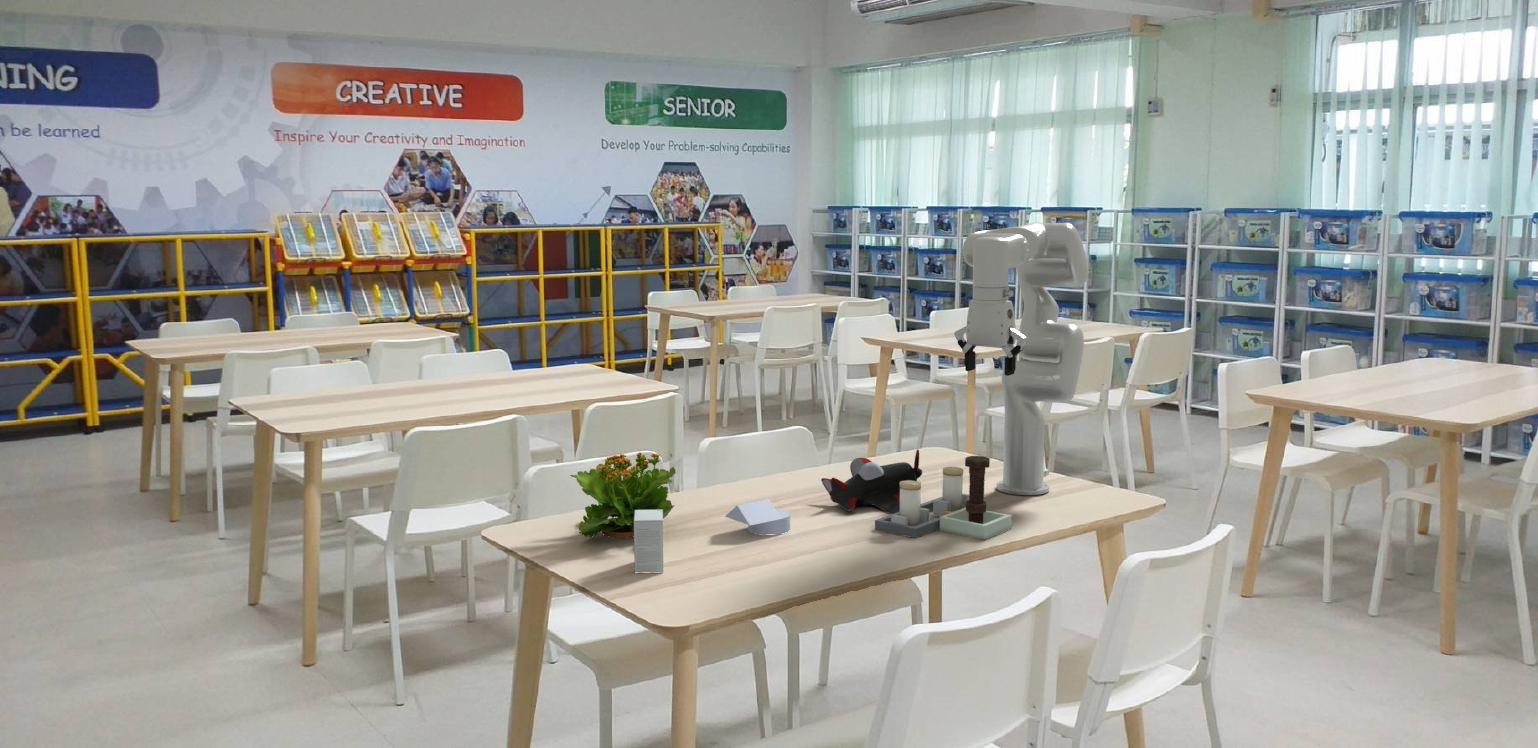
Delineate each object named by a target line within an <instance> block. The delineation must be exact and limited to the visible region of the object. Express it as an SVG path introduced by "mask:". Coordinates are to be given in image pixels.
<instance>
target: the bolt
mask: <svg viewBox="0 0 1538 748" xmlns="http://www.w3.org/2000/svg"><path fill="white" fill-rule="evenodd" d="M964 458H965V459H964V466H965V467H968V473H969V482H968V483H969V486H968V490H969V491H968V495H969V500H968V501H966V511H967V512H969V514H968V515H969V517H968V518H969V520H968V521H969V522H974V523H979V524H983V518H984V517H983V515H984V514H983V513H984V512H986V511H987V507H988V506H987V501H986V500H985V499H984V498H985V481H986V479H985V475H986V468H990V462H991V461H990V460H991V459H990V458H989V457H988V456H981V455H968V456H966V457H964Z"/></svg>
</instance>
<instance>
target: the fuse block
mask: <svg viewBox="0 0 1538 748" xmlns="http://www.w3.org/2000/svg"><path fill="white" fill-rule="evenodd" d="M969 496H970V495H969V493H968V494H967V493H962V509H963V508H965V507H966V501H968V500H969V499H970V498H969ZM950 504H951V502H950V501H945V500H942V496H940V497H937V498H934V499H931V500H928V501H925V502H923V503H920V525H917V526H914V527H912V526H907V517H904V516H899V513H900V512H897V513H894V514H888V515H886V516H883V517H880V518H876V519H875V520H874V530H875V531H882V532H886V533H890V534H894V535H898V536H899V535H900V536H903V537H908V538H913V539H917V538H920V537H922V536H925V535H927V534H929V533H933V532H935V531H937V530H940V517H941V516H944V515H947V514H949V513H952V512H950ZM931 512H932V516H935V517H936V518H933V519H930V513H931ZM954 512H955V511H954Z"/></svg>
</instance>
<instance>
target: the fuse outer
mask: <svg viewBox="0 0 1538 748" xmlns="http://www.w3.org/2000/svg"><path fill="white" fill-rule="evenodd" d="M899 487H900V513H899V516H904V517H907V526H912V527H914V526H917V525H920V504H921V490H922V482H921V481H918V480H917V481H912V480H906V481H901V482H900V484H899Z"/></svg>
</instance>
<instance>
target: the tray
mask: <svg viewBox="0 0 1538 748" xmlns="http://www.w3.org/2000/svg"><path fill="white" fill-rule="evenodd" d="M968 514H969V512H967V511H966V507H965V508H963V509H960V510H957V511H955V512H952V513H949V514H947V515H944V516H941V517H940V529H939V532H943V533H944V532H945V533H947V534H948V533H949V534H953V535H958V536H962V537H968V538H972V539H976V540H977V539H978V540H981V539H984V540H983V541H986V540H988V539H991V538H993V536H994V535H996V534H998V535H1001V534H1003V533H1005V532H1007V531H1006V530H1008V529H1010V530H1012V514H1007V513H1000V512H995V511H992V510H991V511H990V510H986V512H984V513H983V514H984V515H983V517H984V518H983V524H979V523H974V522H969V521H968V520H969V518H968V517H969V515H968ZM1004 531H1005V532H1004ZM1008 531H1009V530H1008ZM1002 532H1003V533H1002ZM1000 533H1001V534H1000ZM996 536H997V535H996ZM994 537H995V536H994ZM985 539H986V540H985Z"/></svg>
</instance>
